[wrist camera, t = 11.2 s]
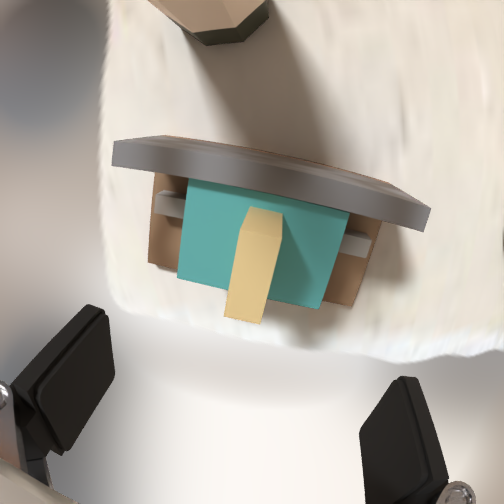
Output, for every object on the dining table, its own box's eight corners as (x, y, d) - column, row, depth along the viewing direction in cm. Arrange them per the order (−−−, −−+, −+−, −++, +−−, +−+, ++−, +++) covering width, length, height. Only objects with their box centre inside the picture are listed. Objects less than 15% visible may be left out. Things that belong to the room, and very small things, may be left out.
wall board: (387, 182, 25) (431, 208, 17) (349, 299, 30) (368, 359, 21) (164, 135, 25) (113, 141, 17) (152, 257, 30) (110, 303, 22)
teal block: (333, 190, 25) (367, 238, 14) (311, 266, 27) (324, 351, 17) (213, 164, 25) (162, 192, 14) (201, 242, 28) (153, 313, 17)
